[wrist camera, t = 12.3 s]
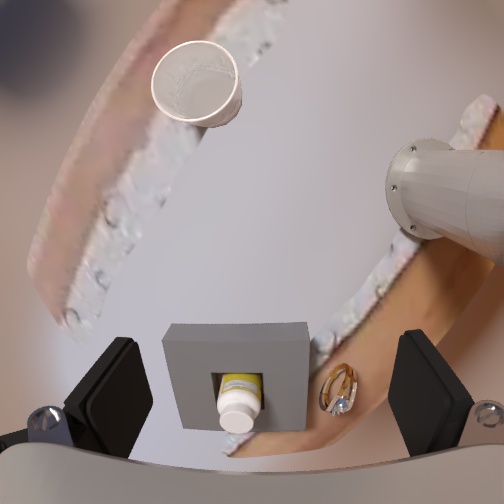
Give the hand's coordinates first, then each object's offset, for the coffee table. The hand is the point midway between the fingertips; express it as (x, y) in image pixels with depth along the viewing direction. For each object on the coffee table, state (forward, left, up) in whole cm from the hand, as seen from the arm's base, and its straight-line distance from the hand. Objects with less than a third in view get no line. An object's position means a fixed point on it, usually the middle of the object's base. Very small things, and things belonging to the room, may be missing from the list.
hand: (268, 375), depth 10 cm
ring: (-8, +22, -28) cm, 37 cm away
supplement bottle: (+5, +21, -28) cm, 35 cm away
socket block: (+5, +21, -28) cm, 36 cm away
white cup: (+6, -15, -28) cm, 33 cm away
